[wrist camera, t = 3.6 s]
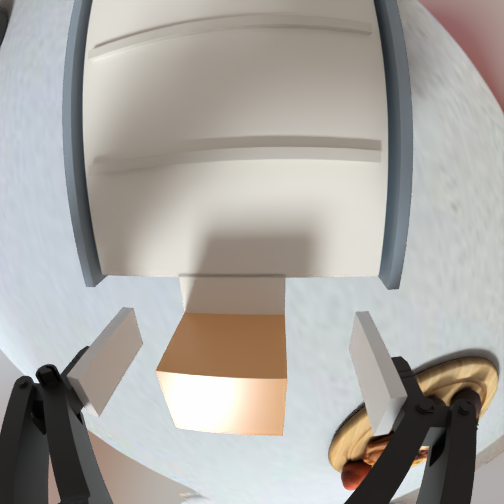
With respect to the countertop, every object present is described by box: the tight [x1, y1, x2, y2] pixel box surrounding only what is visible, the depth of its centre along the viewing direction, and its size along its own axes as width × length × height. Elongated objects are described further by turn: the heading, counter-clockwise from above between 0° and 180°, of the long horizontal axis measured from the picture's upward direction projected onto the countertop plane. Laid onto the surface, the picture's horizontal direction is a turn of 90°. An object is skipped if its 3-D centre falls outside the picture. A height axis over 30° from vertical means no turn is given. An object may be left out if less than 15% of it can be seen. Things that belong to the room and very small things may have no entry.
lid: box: [83, 0, 388, 436], centre depth 10 cm, size 23×14×7 cm, turn 2°
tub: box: [62, 0, 413, 290], centre depth 16 cm, size 18×16×13 cm
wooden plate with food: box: [328, 357, 498, 490], centre depth 31 cm, size 32×32×8 cm
